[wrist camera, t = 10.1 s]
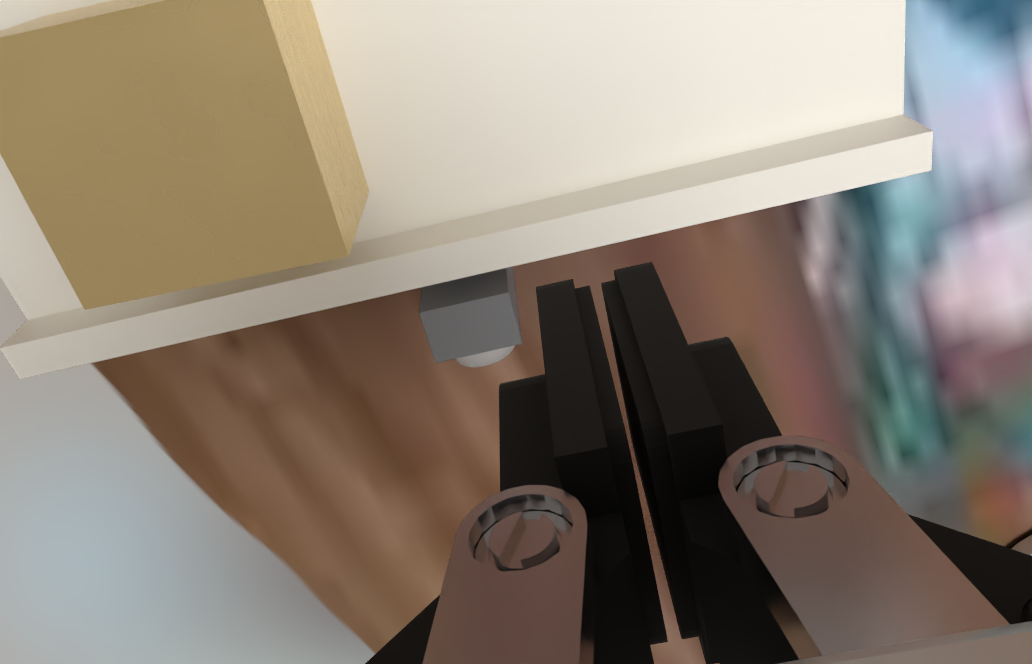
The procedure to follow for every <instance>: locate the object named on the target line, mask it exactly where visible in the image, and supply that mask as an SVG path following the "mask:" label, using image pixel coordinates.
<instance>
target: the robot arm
mask: <svg viewBox="0 0 1032 664" xmlns="http://www.w3.org/2000/svg"><path fill="white" fill-rule="evenodd" d="M614 276H615V280H614V281H609V282H604V283H601V284H602V291H603V296H604V301H605V306H606V311H607V316H608V322H609V327H610V332H611V337H612V342H613V347H614V352H615V357H616V363H617V368H618V373H619V378H620V383H621V388H622V393H623V398H624V404H625V409H626V414H627V419H628V424H629V429H630V434H631V439H632V444H633V448H634V453H635V457H636V461H637V465H638V469H639V473H640V477H641V481H642V485H643V489H644V492H645V496H646V500H647V504H648V508H649V512H650V516H651V520H652V524H653V528H654V532H655V536H656V540H657V544H658V548H659V552H660V555H661V559H662V563H663V567H664V571H665V575H666V579H667V583H668V587H669V591H670V595H671V599H672V603H673V607H674V611H675V615H676V618H677V622H678V626H679V630H680V634H681V637H682V639H686V638H692V637H697V636H699V640H700V643H701V647H702V650H703V654H704V658H705V661H706V664H713V663H720V664H1032V535H1030V536H1028V537H1027V538H1025V539H1023V540H1022V541H1020V542H1019V543H1017V544H1016V545H1015V546H1014V547H1012V548H1011V549H1010V548H1007V547H1004V546H1001V545H998V544H995V543H992V542H989V541H986V540H983V539H980V538H977V537H974V536H971V535H968V534H965V533H962V532H959V531H956V530H953V529H950V528H947V527H944V526H941V525H938V524H935V523H932V522H929V521H926V520H923V519H920V518H917V517H914V516H911V515H908V514H907V513H906V512H905V511H904V510H903V509H902V508H901V507H900V506H899V505H898V504H897V503H896V502H895V501H894V500H893V498H892V497H891V496H890V495H889V494H888V493H887V492H886V491H885V490H884V489H883V488H882V487H881V486H880V485H879V483H878V482H877V481H876V480H875V479H874V478H873V477H872V476H871V475H870V474H869V473H868V472H867V471H866V470H865V469H864V467H863V466H862V465H861V464H860V463H859V462H858V461H857V460H856V459H855V458H854V457H852V456H851V455H850V454H848V453H847V452H846V451H845V450H843V449H842V448H840V447H838V446H836V445H833V444H831V443H828V442H826V441H824V440H820V439H815V438H810V437H804V436H782V434H781V432H780V431H779V429H778V427H777V425H776V423H775V421H774V419H773V418H772V416H771V414H770V412H769V410H768V408H767V406H766V404H765V403H764V401H763V399H762V397H761V395H760V393H759V391H758V390H757V388H756V386H755V384H754V382H753V380H752V378H751V377H750V375H749V373H748V371H747V369H746V367H745V365H744V363H743V362H742V360H741V358H740V356H739V354H738V352H737V350H736V349H735V347H734V345H733V343H732V342H731V340H730V339H729V338H728V337H723V338H719V339H714V340H709V341H704V342H699V343H694V344H690V345H688V344H687V341H686V339H685V337H684V334H683V332H682V330H681V328H680V325H679V323H678V321H677V318H676V316H675V314H674V311H673V309H672V307H671V305H670V302H669V300H668V298H667V295H666V293H665V291H664V288H663V286H662V284H661V282H660V279H659V277H658V275H657V272H656V270H655V268H654V265H653V264H652V262H649V263H645V264H640V265H636V266H631V267H626V268H622V269H617V270H614ZM536 293H537V302H538V312H539V321H540V330H541V339H542V348H543V357H544V367H545V375H540V376H535V377H530V378H525V379H520V380H516V381H511V382H506V383H501V384H500V386H499V419H500V492H499V493H497V494H495V495H492V496H490V497H488V498H487V499H486V500H484V501H483V502H481V503H480V504H478V505H477V506H475V507H474V508H473V509H472V510H471V511H470V513H469V514H468V515H467V516H466V517H465V518H464V519H463V521H462V522H461V524H460V527H459V529H458V531H457V533H456V535H455V539H454V543H453V547H452V551H451V555H450V558H449V562H448V566H447V570H446V574H445V578H444V582H443V586H442V590H441V593H440V595H439V596H438V597H437V598H436V599H435V600H434V601H433V602H432V603H430V604H429V605H428V606H427V607H426V608H425V609H424V610H423V611H422V612H421V613H420V614H419V615H417V616H416V617H415V618H414V619H413V620H412V621H411V622H410V623H409V624H408V625H407V626H406V627H404V628H403V629H402V630H401V631H400V632H399V633H398V634H397V635H396V636H395V637H394V638H393V639H391V640H390V641H389V642H388V643H387V644H386V645H385V646H384V647H383V648H382V649H381V650H380V651H378V652H377V653H376V654H375V655H374V656H373V657H372V658H371V659H370V660H369V661H368V662H367V663H365V664H654V662H653V657H652V652H651V647H650V645H652V644H658V643H663V642H668V641H667V635H666V630H665V625H664V620H663V615H662V610H661V605H660V600H659V595H658V590H657V584H656V579H655V574H654V569H653V564H652V559H651V554H650V549H649V544H648V539H647V534H646V529H645V524H644V519H643V514H642V509H641V503H640V498H639V493H638V488H637V483H636V478H635V473H634V468H633V463H632V458H631V454H630V449H629V444H628V440H627V436H626V431H625V427H624V423H623V419H622V415H621V411H620V407H619V403H618V399H617V395H616V391H615V387H614V383H613V379H612V375H611V371H610V367H609V362H608V358H607V354H606V350H605V346H604V342H603V338H602V334H601V330H600V326H599V322H598V318H597V314H596V310H595V306H594V302H593V298H592V294H591V290H590V286H586V287H581V288H576V289H575V288H574V283H573V279H571V280H566V281H562V282H557V283H552V284H548V285H543V286H539V287H536Z"/></svg>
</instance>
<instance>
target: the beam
mask: <svg viewBox="0 0 1032 664" xmlns="http://www.w3.org/2000/svg"><path fill="white" fill-rule="evenodd" d="M107 1H112V0H0V31H1V30H4V29H7V28H10V27H13V26H16V25H19V24H21V23H24V22H27V21H30V20H33V19H36V18H39V17H42V16H45V15H49V14H54V13H58V12H63V11H67V10H72V9H76V8H81V7H85V6H89V5H94V4H98V3H103V2H107ZM311 2H312V6H313V9H314V12H315V15H316V19H317V22H318V25H319V28H320V32H321V35H322V38H323V42H324V45H325V48H326V51H327V55H328V58H329V61H330V64H331V68H332V71H333V74H334V77H335V81H336V84H337V87H338V91H339V94H340V97H341V100H342V104H343V107H344V110H345V113H346V117H347V120H348V123H349V126H350V130H351V133H352V136H353V140H354V143H355V146H356V149H357V153H358V156H359V159H360V162H361V166H362V169H363V172H364V175H365V179H366V182H367V185H368V189H369V195H368V198H367V201H366V204H365V207H364V210H363V214H362V217H361V220H360V223H359V226H358V229H357V232H356V235H355V239H354V242H353V245H352V248H351V251H350V254H349V257H344V258H339V259H334V260H329V261H324V262H319V263H314V264H309V265H304V266H299V267H294V268H290V269H285V270H280V271H275V272H270V273H265V274H260V275H255V276H250V277H245V278H240V279H235V280H230V281H225V282H220V283H215V284H211V285H206V286H201V287H196V288H191V289H186V290H181V291H176V292H171V293H166V294H161V295H156V296H151V297H146V298H141V299H137V300H132V301H127V302H122V303H117V304H112V305H107V306H102V307H97V308H92V309H87V310H84V308H83V306H82V304H81V302H80V301H79V299H78V297H77V295H76V293H75V291H74V289H73V288H72V286H71V284H70V282H69V280H68V278H67V276H66V275H65V273H64V271H63V269H62V267H61V265H60V264H59V262H58V260H57V258H56V256H55V254H54V252H53V251H52V249H51V247H50V245H49V243H48V241H47V239H46V238H45V236H44V234H43V232H42V230H41V228H40V227H39V225H38V223H37V221H36V219H35V217H34V215H33V214H32V212H31V210H30V208H29V206H28V204H27V202H26V201H25V199H24V197H23V195H22V193H21V191H20V190H19V188H18V186H17V184H16V182H15V180H14V178H13V177H12V175H11V173H10V171H9V169H8V167H7V165H6V164H5V162H4V160H3V158H2V156H1V154H0V278H1V279H2V281H3V282H4V284H5V286H6V287H7V289H8V290H9V292H10V294H11V295H12V297H13V298H14V300H15V302H16V303H17V305H18V306H19V308H20V310H21V311H22V313H23V314H24V316H25V318H26V319H27V321H26V322H25V323H24V324H23V325H22V326H21V327H20V328H19V329H18V330H17V331H16V332H15V333H14V334H13V335H12V336H11V337H10V338H9V339H8V340H7V341H6V342H5V343H4V344H3V345H2V346H1V347H0V350H1V352H2V353H3V355H4V356H5V358H6V359H7V360H8V362H9V364H10V365H11V366H12V368H13V370H14V371H15V373H16V374H17V376H18V377H19V379H23V378H28V377H32V376H37V375H41V374H46V373H50V372H54V371H59V370H63V369H67V368H71V367H76V366H80V365H85V364H89V363H94V362H98V361H102V360H107V359H111V358H115V357H120V356H124V355H128V354H133V353H137V352H141V351H146V350H150V349H155V348H159V347H163V346H168V345H172V344H176V343H181V342H185V341H189V340H194V339H198V338H203V337H207V336H211V335H216V334H220V333H224V332H229V331H233V330H237V329H242V328H246V327H251V326H255V325H259V324H264V323H268V322H272V321H277V320H281V319H285V318H290V317H294V316H299V315H303V314H307V313H312V312H316V311H320V310H325V309H329V308H333V307H338V306H342V305H347V304H351V303H355V302H360V301H364V300H368V299H373V298H377V297H381V296H386V295H390V294H394V293H399V292H403V291H408V290H412V289H416V288H421V287H425V286H429V285H434V284H438V283H442V282H447V281H451V280H456V279H460V278H464V277H469V276H473V275H477V274H482V273H486V272H490V271H495V270H499V269H504V268H508V267H512V266H517V265H521V264H525V263H530V262H534V261H538V260H543V259H547V258H552V257H556V256H560V255H565V254H569V253H573V252H578V251H582V250H586V249H591V248H595V247H600V246H604V245H608V244H613V243H617V242H621V241H626V240H630V239H634V238H639V237H643V236H647V235H652V234H656V233H661V232H665V231H669V230H674V229H678V228H682V227H687V226H691V225H695V224H700V223H704V222H709V221H713V220H717V219H722V218H726V217H730V216H735V215H739V214H743V213H748V212H752V211H757V210H761V209H765V208H770V207H774V206H778V205H783V204H787V203H791V202H796V201H800V200H805V199H809V198H813V197H818V196H822V195H826V194H831V193H835V192H839V191H844V190H848V189H853V188H857V187H861V186H866V185H870V184H874V183H879V182H883V181H887V180H892V179H896V178H900V177H905V176H909V175H914V174H918V173H922V172H927V171H931V167H932V140H933V131H932V130H930V129H928V128H927V127H925V126H923V125H921V124H920V123H918V122H916V121H914V120H913V119H911V118H909V117H907V116H906V115H904V114H903V111H904V57H905V3H906V0H311Z"/></svg>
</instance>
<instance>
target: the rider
mask: <svg viewBox="0 0 1032 664" xmlns="http://www.w3.org/2000/svg"><path fill="white" fill-rule="evenodd" d="M0 154H1V156H2V158H3V160H4V162H5V164H6V165H7V167H8V169H9V171H10V173H11V175H12V177H13V178H14V180H15V182H16V184H17V186H18V188H19V190H20V191H21V193H22V195H23V197H24V199H25V201H26V202H27V204H28V206H29V208H30V210H31V212H32V214H33V215H34V217H35V219H36V221H37V223H38V225H39V227H40V228H41V230H42V232H43V234H44V236H45V238H46V239H47V241H48V243H49V245H50V247H51V249H52V251H53V252H54V254H55V256H56V258H57V260H58V262H59V264H60V265H61V267H62V269H63V271H64V273H65V275H66V276H67V278H68V280H69V282H70V284H71V286H72V288H73V289H74V291H75V293H76V295H77V297H78V299H79V301H80V302H81V304H82V306H83V308H84V310H87V309H92V308H97V307H102V306H107V305H112V304H117V303H122V302H127V301H132V300H137V299H141V298H146V297H151V296H156V295H161V294H166V293H171V292H176V291H181V290H186V289H191V288H196V287H201V286H206V285H211V284H215V283H220V282H225V281H230V280H235V279H240V278H245V277H250V276H255V275H260V274H265V273H270V272H275V271H280V270H285V269H290V268H294V267H299V266H304V265H309V264H314V263H319V262H324V261H329V260H334V259H339V258H344V257H349V254H350V251H351V248H352V245H353V242H354V239H355V235H356V232H357V229H358V226H359V223H360V220H361V217H362V214H363V210H364V207H365V204H366V201H367V198H368V195H369V189H368V185H367V182H366V179H365V175H364V172H363V169H362V166H361V162H360V159H359V156H358V153H357V149H356V146H355V143H354V140H353V136H352V133H351V130H350V126H349V123H348V120H347V117H346V113H345V110H344V107H343V104H342V100H341V97H340V94H339V91H338V87H337V84H336V81H335V77H334V74H333V71H332V68H331V64H330V61H329V58H328V55H327V51H326V48H325V45H324V42H323V38H322V35H321V32H320V28H319V25H318V22H317V19H316V15H315V12H314V9H313V6H312V2H311V0H112V1H107V2H103V3H98V4H94V5H89V6H85V7H81V8H76V9H72V10H67V11H63V12H58V13H54V14H49V15H45V16H42V17H39V18H36V19H33V20H30V21H27V22H24V23H21V24H19V25H16V26H13V27H10V28H7V29H4V30H1V31H0Z"/></svg>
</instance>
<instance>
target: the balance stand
mask: <svg viewBox="0 0 1032 664" xmlns="http://www.w3.org/2000/svg"><path fill="white" fill-rule="evenodd" d="M419 315H420V318H421V320H422V323H423V326H424V329H425V332H426V335H427V338H428V341H429V344H430V347H431V350H432V353H433V356H434V359H435V362H436V363H439V362H443V361H448V360H452V359H456V361H457V362H458V363H459V364H461V365H463V366H467V367H482V366H487V365H490V364H493V363H496V362H498V361H500V360H502V359H503V358H505V357H506V356H508V355H509V354H510V353H511V352H512V350H513V349H514V346H515V345H519V344H522V338H521V330H520V321H519V313H518V304H517V296H516V287H515V279H514V270H513V266H512V267H508V268H504V269H499V270H495V271H490V272H486V273H482V274H477V275H473V276H469V277H464V278H460V279H456V280H451V281H447V282H442V283H438V284H434V285H429V286H425V287H422V290H421V299H420V308H419Z"/></svg>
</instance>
